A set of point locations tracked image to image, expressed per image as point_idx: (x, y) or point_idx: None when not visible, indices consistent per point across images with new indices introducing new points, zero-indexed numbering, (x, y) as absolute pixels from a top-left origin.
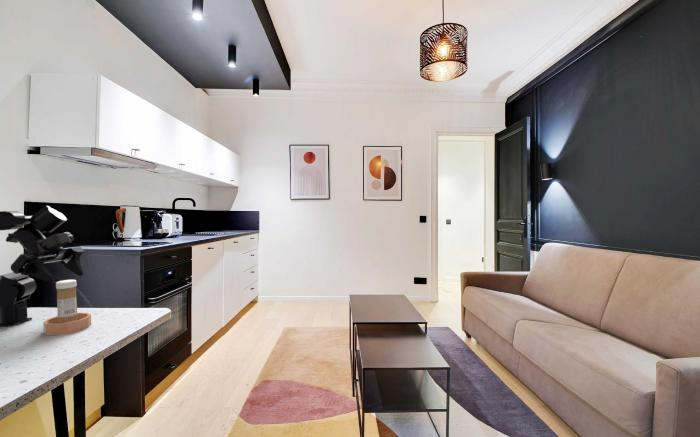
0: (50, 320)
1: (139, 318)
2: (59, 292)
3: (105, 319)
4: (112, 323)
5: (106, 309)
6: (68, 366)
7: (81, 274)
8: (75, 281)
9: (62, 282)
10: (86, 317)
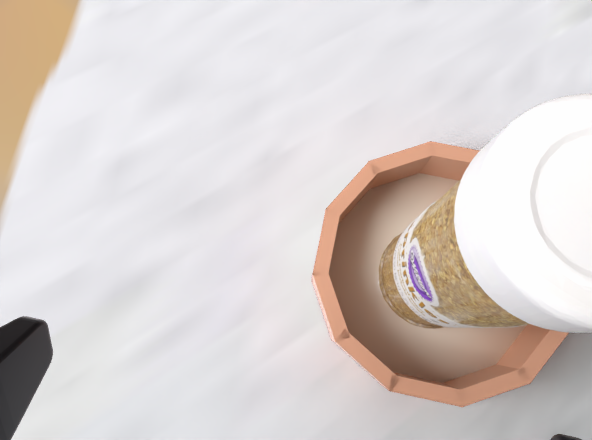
0: (452, 387)
1: None
2: None
3: (271, 152)
4: (357, 67)
5: (27, 281)
6: None
7: (38, 341)
8: (563, 98)
9: None
10: (436, 148)
